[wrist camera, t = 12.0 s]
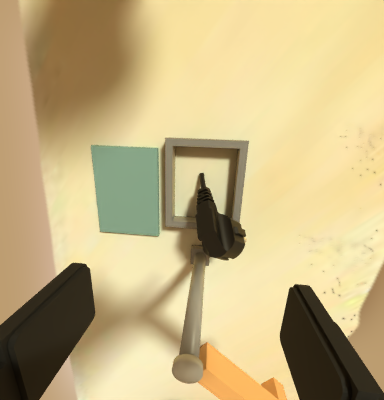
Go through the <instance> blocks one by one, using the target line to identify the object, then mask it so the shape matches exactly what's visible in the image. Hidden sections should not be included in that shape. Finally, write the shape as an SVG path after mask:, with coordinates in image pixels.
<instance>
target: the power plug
mask: <svg viewBox="0 0 384 400" xmlns="http://www.w3.org/2000/svg"><path fill="white" fill-rule="evenodd" d="M199 175H200V183H201V189H199V190H198V196H197V197H198V198H197V204H198V205H197V215H196V224H197V233H198V239H199V240H200V241H202V246H203V251H204V253H205V254H206V255H208V256H209V257H214V258H218V259H221V260H229V259H228V258H232V259H234V258H236V257H237V256H239V255H240V253H241V252H242V250H243V249H244V246H245V242H246V238H244V237H246V234H245V230H244V229H242V228H241V224H240V223H239V222H237V221H235V220H233V219H231V218H229V217H228V216H225V215H223V214H220V213H218V212H217V208H216V205H215V203H214V200H213V197H212V194H211V193H210V192H211V191H210V189H209V188H207V187H206V186H205V179H204V173H200V174H199Z"/></svg>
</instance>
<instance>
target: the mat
mask: <svg viewBox="0 0 384 400" xmlns="http://www.w3.org/2000/svg"><path fill="white" fill-rule="evenodd" d="M91 151H92V161H93V170H94V179H95V188H96V197H97V206H98V216H99V225H100V231H101V232H114V233H126V234H139V235H151V236H159V162H158V148H145V147H122V146H99V145H91Z"/></svg>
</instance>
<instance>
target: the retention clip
mask: <svg viewBox="0 0 384 400" xmlns="http://www.w3.org/2000/svg"><path fill="white" fill-rule="evenodd" d="M172 373H173V375H174V377H175V378H176V379H177V380H179V381H181V382H183V383H196V382H198V383H199V384H201V385H202V386H203V387H205V388H206V389H207V390H209V391H210V392H211V393H213V394H214V395H215V396H216V397H218V398H219V399H220V400H287V398H286V395H285V391H284V387H283V385H282V384H281V383H280V382H278V381H277V380H276V379H275V378H274V377H273V378H271V379H270V380H268V381H266V382H264V383H262V384H261V385H260V384H259V383H257V382H256V381H255V380H254V379H252V378H251V377H250V376H249V375H247V374H246V373H245V372H244V371H242V370H241V369H240V368H239V367H237V366H236V365H235V364H234V363H232V362H231V361H230V360H229V359H227V358H226V357H225V356H224V355H222V354H221V353H220V352H219V351H218V350H216V349H215V348H214V347H213V346H211V345H210V344H209V343H208V342H207V343H205V344H204V345H202V346H201V347H200V352H199V358H198V357H196V356H194V355H191V354H181V355H179V356H177V357H176V358H175V359H174V362H173V367H172Z"/></svg>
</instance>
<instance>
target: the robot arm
mask: <svg viewBox="0 0 384 400" xmlns="http://www.w3.org/2000/svg"><path fill="white" fill-rule="evenodd" d="M94 316H95V306H94V298H93V290H92V282H91V274H90V268H89V267H87V265H86V264H82V263H72V264H70V265H69V266H68V267H67V268H66V269H65V270H63V271H62V272H61V273H60V274H59V275H58V276H57V277H55V278H54V279H53V280H52V281H51V282H50V283H49V284H47V285H46V286H45V287H44V288H43V289H42V290H41V291H39V292H38V293H37V294H36V295H35V296H34V297H33V298H31V299H30V300H29V301H28V302H27V303H25V304H24V305H23V306H22V307H21V308H20V309H18V310H17V311H16V312H15V313H14V314H13V315H12V316H10V317H9V318H8V319H7V320H6V321H5V322H4V323H2V324H1V325H0V400H39V399H40V398H41V396H42V395H43V393H44V392H45V390H46V389H47V387H48V386H49V384H50V383H51V381H52V380H53V378H54V377H55V375H56V374H57V373H58V371H59V370H60V368H61V366H62V365H63V363H64V362H65V360H66V359H67V358H68V356H69V355H70V353H71V352H72V350H73V349H74V347H75V346H76V344H77V343H78V341H79V340H80V338H81V337H82V335H83V334H84V332H85V331H86V329H87V328H88V326H89V325H90V323H91V322H92V320H93V318H94ZM280 341H281V345H282V348H283V351H284V354H285V357H286V360H287V363H288V366H289V369H290V372H291V375H292V378H293V381H294V384H295V387H296V390H297V393H298V396H299V399H300V400H384V393H383V391H382V390H381V388H380V387H379V385H378V384H377V382H376V381H375V379H374V378H373V376H372V375H371V373H370V372H369V370H368V369H367V367H366V366H365V364H364V363H363V362H362V360H361V358H360V357H359V355H358V354H357V352H356V351H355V350H354V348H353V347H352V345H351V344H350V342H349V341H348V339H347V338H346V336H345V335H344V333H343V332H342V330H341V329H340V327H339V326H338V325H337V324H336V323H335V322H334V321H333V320H332V318H331V317H330V315H329V314H328V312H327V311H326V309H325V308H324V306H323V305H322V303H321V302H320V300H319V299H318V297H317V296H316V294H315V293H314V291H313V290H312V288H311V287H310V286H308V285H298V284H295V285H294V286H293V287H290V289H289V293H288V298H287V302H286V307H285V312H284V317H283V322H282V326H281V331H280Z"/></svg>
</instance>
